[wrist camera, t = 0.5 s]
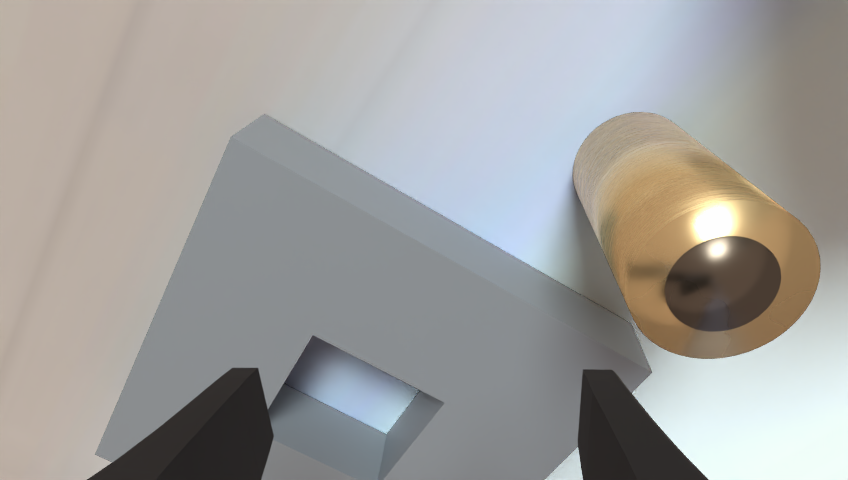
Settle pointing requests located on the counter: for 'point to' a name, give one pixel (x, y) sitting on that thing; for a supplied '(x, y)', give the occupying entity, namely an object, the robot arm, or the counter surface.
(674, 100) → the counter surface
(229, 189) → the jig block
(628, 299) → the brass sleeve
